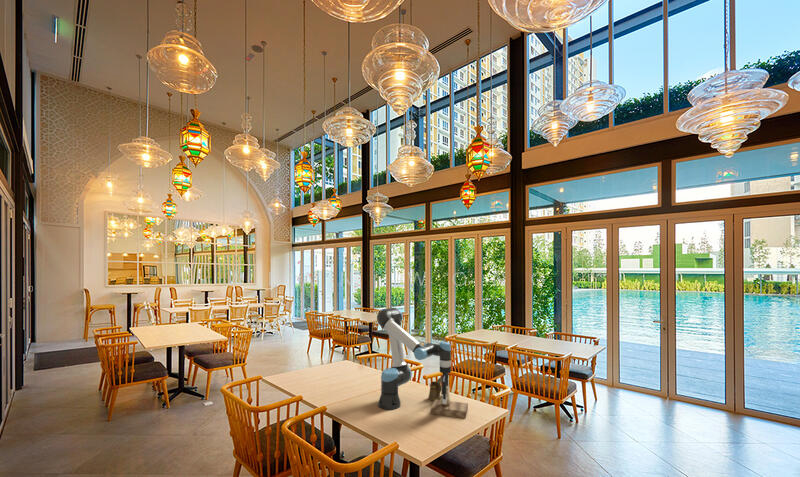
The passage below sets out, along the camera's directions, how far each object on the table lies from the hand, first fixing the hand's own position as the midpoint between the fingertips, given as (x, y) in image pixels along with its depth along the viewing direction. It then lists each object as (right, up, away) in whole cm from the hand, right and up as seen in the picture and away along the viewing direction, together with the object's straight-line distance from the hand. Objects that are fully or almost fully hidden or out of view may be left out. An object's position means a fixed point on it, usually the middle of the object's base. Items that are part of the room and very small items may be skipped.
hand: (445, 402), depth 234 cm
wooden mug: (-4, -7, +19) cm, 21 cm away
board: (+3, -6, -1) cm, 6 cm away
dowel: (0, -5, 0) cm, 5 cm away
